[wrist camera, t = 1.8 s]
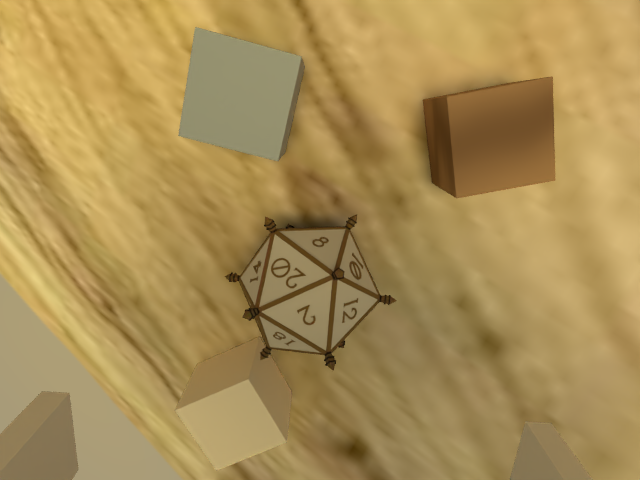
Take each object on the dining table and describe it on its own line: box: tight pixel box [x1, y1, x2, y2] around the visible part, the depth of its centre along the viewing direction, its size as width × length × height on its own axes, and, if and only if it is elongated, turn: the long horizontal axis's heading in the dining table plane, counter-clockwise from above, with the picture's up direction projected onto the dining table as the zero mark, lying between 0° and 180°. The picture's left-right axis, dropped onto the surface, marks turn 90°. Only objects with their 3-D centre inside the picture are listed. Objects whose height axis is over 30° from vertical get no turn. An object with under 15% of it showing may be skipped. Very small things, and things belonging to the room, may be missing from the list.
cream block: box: [175, 337, 292, 471], centre depth 28 cm, size 5×5×5 cm
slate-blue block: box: [178, 27, 305, 161], centre depth 23 cm, size 5×5×5 cm
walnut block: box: [423, 77, 555, 198], centre depth 23 cm, size 5×5×5 cm
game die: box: [225, 215, 396, 370], centre depth 24 cm, size 9×8×10 cm
